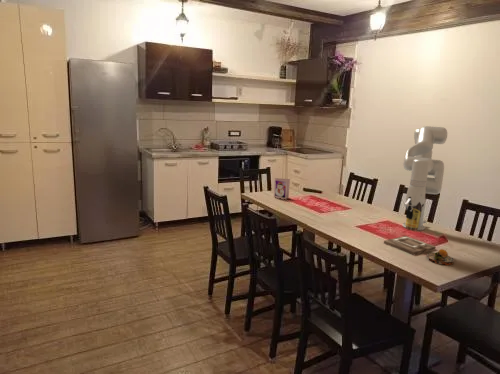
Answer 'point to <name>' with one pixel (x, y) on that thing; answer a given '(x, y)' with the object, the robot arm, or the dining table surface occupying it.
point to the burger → (440, 257)
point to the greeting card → (281, 188)
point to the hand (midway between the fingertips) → (413, 217)
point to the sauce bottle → (414, 218)
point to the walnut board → (409, 245)
